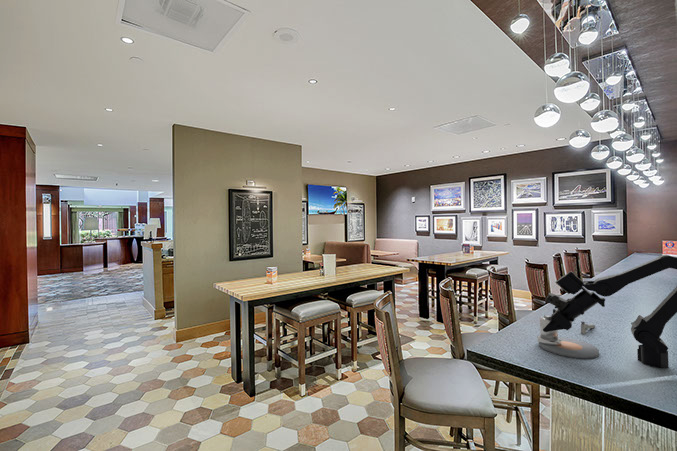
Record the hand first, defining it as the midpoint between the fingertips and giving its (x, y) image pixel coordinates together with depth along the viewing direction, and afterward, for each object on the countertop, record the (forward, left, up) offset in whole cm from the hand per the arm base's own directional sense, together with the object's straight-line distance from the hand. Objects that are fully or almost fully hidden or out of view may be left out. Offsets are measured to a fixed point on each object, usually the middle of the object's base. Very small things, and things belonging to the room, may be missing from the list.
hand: (544, 328), depth 120 cm
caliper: (+12, -34, -8) cm, 37 cm away
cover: (-1, -1, -5) cm, 5 cm away
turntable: (-5, -5, -6) cm, 9 cm away
